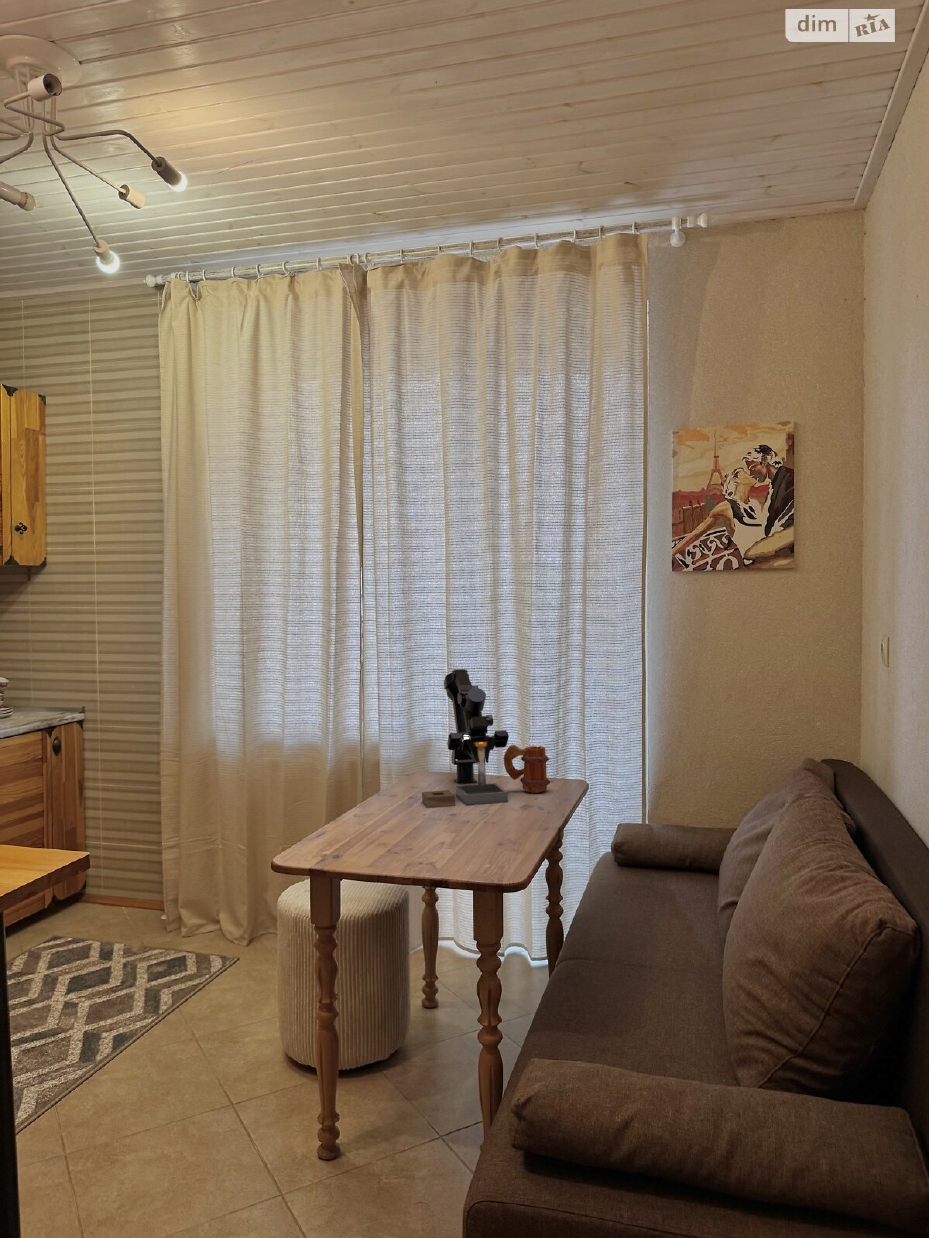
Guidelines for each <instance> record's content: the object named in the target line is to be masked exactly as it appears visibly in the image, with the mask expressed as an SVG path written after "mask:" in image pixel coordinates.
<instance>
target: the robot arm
mask: <svg viewBox="0 0 929 1238" xmlns="http://www.w3.org/2000/svg"><path fill="white" fill-rule="evenodd" d="M443 687H444V690H445V691H446V696H447V697H448V698H449V699H450V701H452V708H453V716H454V723H455V729H456V732H450V733H449V734H448V738H447V745H446V746H447V750H449V751H452V752H451V756H450V757H451V764H452V765H454V766H456V778H454V779H453V780H454V781H455V782H456V783H457V784H471V783H478V779H475V777H474V776H475V774H474V772H475V771H474V764H475V765H476V764H477V765H478V759H477V747H475V746H474V742H475V741H487V746H486V747H485V764H488V763H489V759H490V752H491V751H493V750H494V749H495V748H496V749H497V748H498V749H499V748H506V747H507V745H508V742H509V737H510V736H509V733H508V731H507V730H504V729H503V730H494V734H493V735H490V734H489V735H487V734H488V727H492V726H493V725H494V718H493V717H494V716H493V714H486V715H485V716H484V715H483V712H482V711H484V706H485V702H486V699H487V698H486V697H487V693H486V692H485V691H484V690H483V689H481V688H479V685H473V684H472V681H471V680H470V675H469V673H468V669H464V668H463V669H459V668H458V669H454V670H452V671H451V672H450V673H449V674H447V675H445V676H444V679H443Z"/></svg>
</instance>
